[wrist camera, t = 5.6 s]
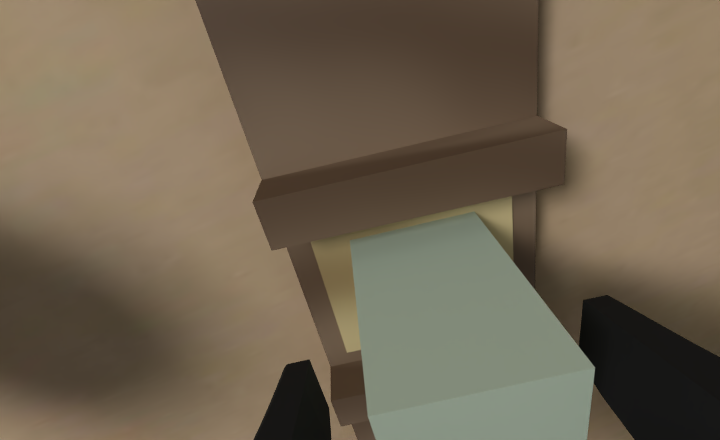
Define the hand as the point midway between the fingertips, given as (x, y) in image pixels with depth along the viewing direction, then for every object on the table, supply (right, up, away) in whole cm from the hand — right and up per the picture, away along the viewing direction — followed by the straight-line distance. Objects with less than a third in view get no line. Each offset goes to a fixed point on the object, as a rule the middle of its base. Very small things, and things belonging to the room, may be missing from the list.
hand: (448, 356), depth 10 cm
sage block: (0, +2, +3) cm, 3 cm away
